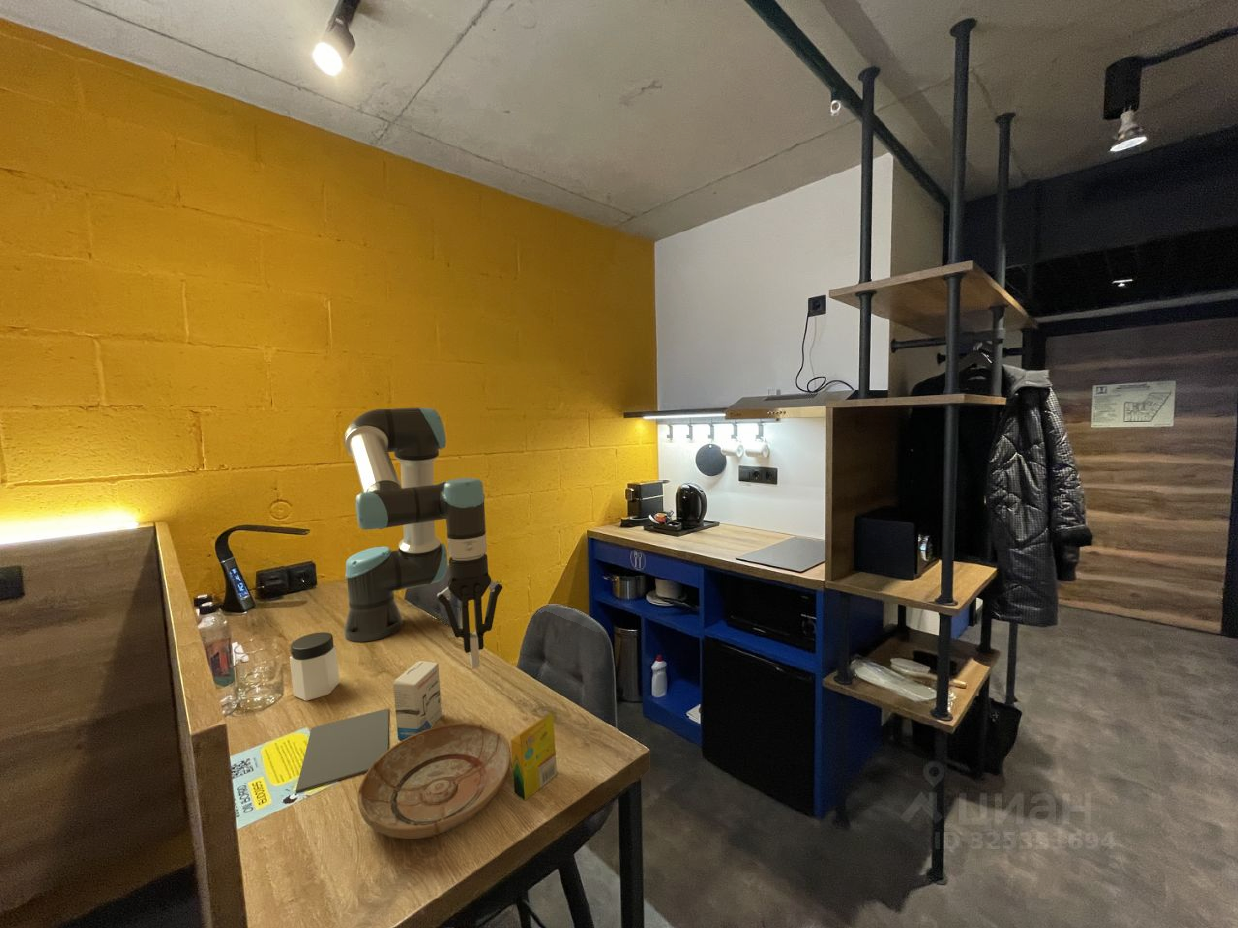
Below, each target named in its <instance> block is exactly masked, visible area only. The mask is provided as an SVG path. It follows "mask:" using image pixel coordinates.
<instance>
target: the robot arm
mask: <svg viewBox="0 0 1238 928" xmlns="http://www.w3.org/2000/svg"><path fill="white" fill-rule="evenodd" d="M446 438H447V437H446V432H445V426H444V423H443V421H442V418H441V415H440V413H439V412H438V411H437V410H436V409H435V408H431V407H402V408H401V407H400V408H375V409H371V410H367V411H366V412H364V413H362V414H360V415H359V416H357V417H356V418H354V419H353V421H351V423H350V424H349V426H348V427H347V429H346V431H345V433H344V446H345V449H346V452H347V453H348V455H349V456H350V457H351V458H353V462H354V466H355V469H356V474H357V478H358V480H359V484H360V487H361V492H360V493H358V494H356V495H355V513H356V514H355V515H356V519H357V525H358V527H359V528H360V529H362V530H364V531H365V530H366V531H367V530H375V529H377V530H383V529H387V528H392V527H393V528H394V527H399V526H403V538H402V539H401V540H400V541H399V542H398V549H397V550H391V549H390V547H388V546H374V547H370V548H367V549H364V550H360V551H359V552H356V553H354V554H352V555H350V557H349V558H347V560H346V562H345V578H346V583H347V584H346V585H347V593H348V594H347V596H348V597H347V598H348V606H349V608H348V613H347V617H346V621H345V625H344V637H345V639H347V641H351V642H371V641H375V640H380V639H384V638H386V637H389V636H391V635H393V634H395V633H397V632H398V631H399V630H401V628H403V625H404V623H403V622H404V621H403V616H402V613H401V611H400V609H399V607H398V605H397V603H396V601H395V594H394V593H395V592H397V591H401V590H406V589H411V588H416V587H421V586H429V585H431V584H435V583H438V582H439V583H440V582H441V581H442V580H443V579H444V578H445V575H446V573H447V569H449V572H448V573H449V580H448V582H447V587H445V588H444V589H443V590H442V591H441V590H439V591H438V592H436V596H437V599H438V601H439V602H440V603H441V604H442V605H443V607H444V610H445V612H446V615H447V618H448V620H449V623H450V627H451V629H452V631H453V635H454V637H455V638H456V639H457V638H462V639H463V642H462V643H463V650H464V651H465V654H468V653H469V663H470V665H471V666H470V667H471V669H477V668H480V667H481V666H480V665H481V664H480V653H479V652H480V651H481V650H484V647H485V645H484V635H485V633H486V632H491V631H492V629H493V623H494V619H495V614H496V609H497V602H498V598H499V596H500V594H501V591H502V590H503V585H502V584H501V582H500V581H498V580H497V581H495V580H493V579H492V577H491V576H490V574H489V564H488V563H489V562H488V561H489V559H488V554H486V553H487V551H488V547H487V544H488V543H487V533H486V532H487V529H486V527H487V526H486V514H485V511H486V510H485V497H486V496H485V495H486V494H485V493H484V492H485V491H484V487H483V482H482V480H481V479H479V478H476V477H475V478H472V477H463V478H453V479H450V480H447V481H446V480H445V481H441V482H438V483H437V484H435V474H434V472H435V469H434V463H435V460H436V459H438V458H439V456H440V450H442V449H445V448H446V441H447V439H446ZM389 453H394V454H393V455H394V458H395V460H397V461H398V462H399V463H400V473H401V474H400V475H401V477H400V478H401V482H400V479H399V477H398V474H397V472H396V469H395V467H394V464H393V461H392V459H391V456H390V454H389ZM441 520H445V525H446V539H447V541H446V542H447V546H446V545H445V544H444V543H443V542H441V539H440V538H439V537H438V536H436V521H441ZM446 547H447V548H446ZM447 556H449V558H448V557H447ZM488 589H489V595H488V602H487V606H486V611H485V617H484V620H483V609H482V601H483V599H482V597H484V595H485V593H486V592H487V590H488ZM451 593H452V595H454V597H456V599H457V600H459V601H460V612H461V615H460V616H461V628H460V627H459V624H458V621H457V617H456V615H455V613H454V609H453V607H452V605H451V601H450V600H451V598H452V596H451ZM469 601H473V610H474V611H473V612H474V627H475V631H473V632H471V630H470V629H471V627H470V609H469V607H470V605H469ZM483 621H484V622H483Z"/></svg>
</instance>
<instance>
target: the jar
mask: <svg viewBox="0 0 1238 928" xmlns="http://www.w3.org/2000/svg"><path fill="white" fill-rule="evenodd" d="M333 637H334V635H332V633H330V632H326V631H325V632H323V631H321V632H320V631H319V632H314V633H309V634H306V635H303V636H301V637H299V638H297V639H295V640H293V641H292V642H291V645H290V653H291V656H289V664H290V665H289V666H290V672H291V681H292V690H293V696H294V697H296V698H299V699H301V700H302V701H303V700H304V701H305V702H307V701H311V700H314V699H317V698H321V697H324V696H327V695H329V694H331V693H332V691H333V690H334V689H335V688H336V687H337V686H338V685H339V684H340V677H339V676H340V675H339V665H338V664H339V663H338V655H337V646H336V645H335V644H334V638H333Z"/></svg>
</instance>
